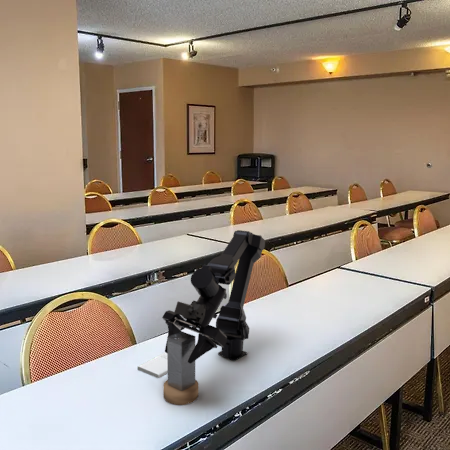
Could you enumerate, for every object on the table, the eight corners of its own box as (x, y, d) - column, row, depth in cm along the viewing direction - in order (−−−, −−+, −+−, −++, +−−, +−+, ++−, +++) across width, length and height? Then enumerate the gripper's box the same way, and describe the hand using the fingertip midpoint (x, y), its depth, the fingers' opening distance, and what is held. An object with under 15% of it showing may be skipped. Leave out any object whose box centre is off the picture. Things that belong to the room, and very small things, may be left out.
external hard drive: (137, 371, 144) (166, 355, 154) (158, 380, 140) (187, 363, 150) (137, 366, 144) (166, 350, 154) (158, 374, 139) (187, 358, 149)
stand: (181, 382, 137) (181, 372, 137) (205, 394, 132) (205, 384, 131) (156, 395, 131) (156, 385, 130) (180, 409, 125) (181, 398, 124)
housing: (181, 377, 134) (181, 331, 132) (195, 383, 131) (195, 336, 128) (167, 384, 130) (167, 336, 128) (181, 391, 127) (181, 342, 125)
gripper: (167, 281, 134) (135, 332, 128) (220, 298, 122) (188, 355, 116) (187, 301, 142) (158, 351, 136) (240, 319, 130) (210, 374, 124)
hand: (177, 357), depth 128 cm, fingers open, 8 cm apart
